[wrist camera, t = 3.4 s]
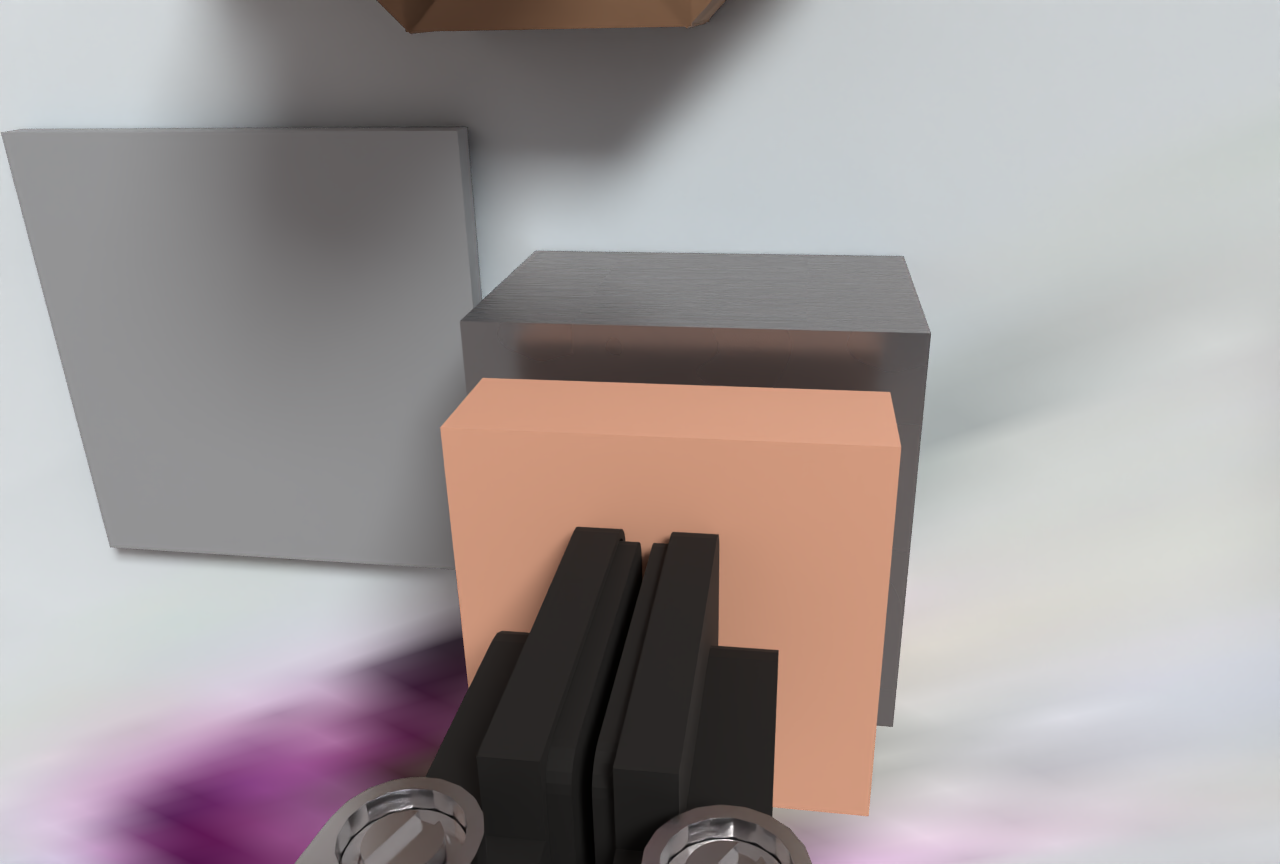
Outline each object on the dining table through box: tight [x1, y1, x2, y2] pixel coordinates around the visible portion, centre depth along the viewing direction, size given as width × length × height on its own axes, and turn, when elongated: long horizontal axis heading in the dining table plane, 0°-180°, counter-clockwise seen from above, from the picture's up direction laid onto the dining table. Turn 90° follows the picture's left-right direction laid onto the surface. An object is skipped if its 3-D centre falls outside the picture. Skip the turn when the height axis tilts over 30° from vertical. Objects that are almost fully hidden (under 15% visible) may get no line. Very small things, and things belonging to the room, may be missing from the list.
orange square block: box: [440, 378, 901, 816], centre depth 14 cm, size 5×5×5 cm
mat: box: [1, 127, 482, 569], centre depth 18 cm, size 8×8×1 cm
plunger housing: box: [460, 251, 931, 727], centre depth 16 cm, size 6×6×4 cm
